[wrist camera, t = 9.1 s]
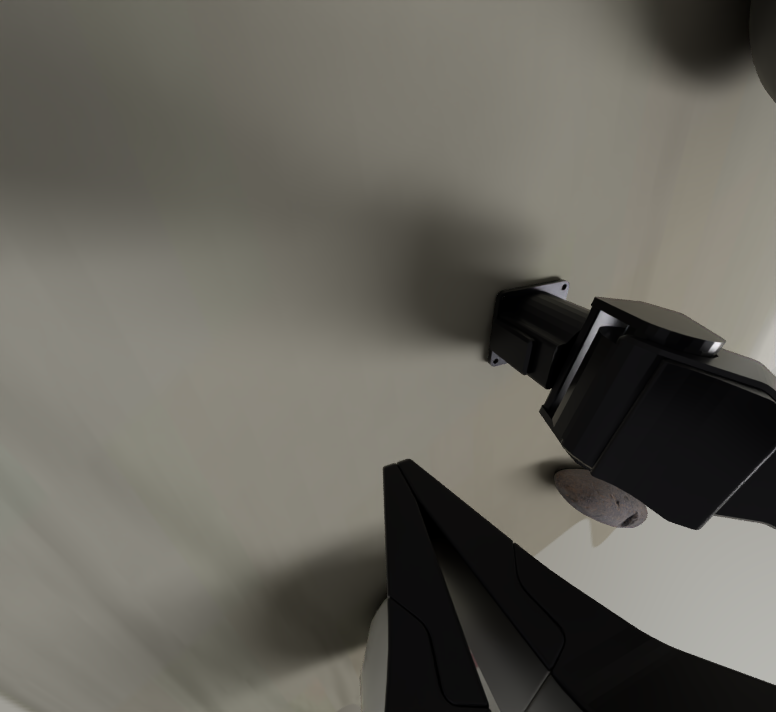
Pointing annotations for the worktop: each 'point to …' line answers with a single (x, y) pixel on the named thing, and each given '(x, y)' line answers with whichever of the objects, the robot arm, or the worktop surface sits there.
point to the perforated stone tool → (599, 499)
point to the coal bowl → (764, 42)
